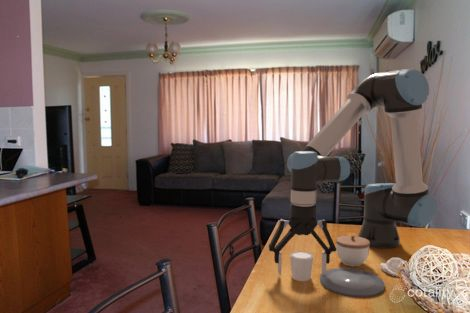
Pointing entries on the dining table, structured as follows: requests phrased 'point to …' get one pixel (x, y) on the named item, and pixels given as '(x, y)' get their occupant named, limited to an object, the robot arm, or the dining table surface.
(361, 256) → the lidded jar
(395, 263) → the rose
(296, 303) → the dining table surface
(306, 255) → the white cup
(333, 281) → the dish
